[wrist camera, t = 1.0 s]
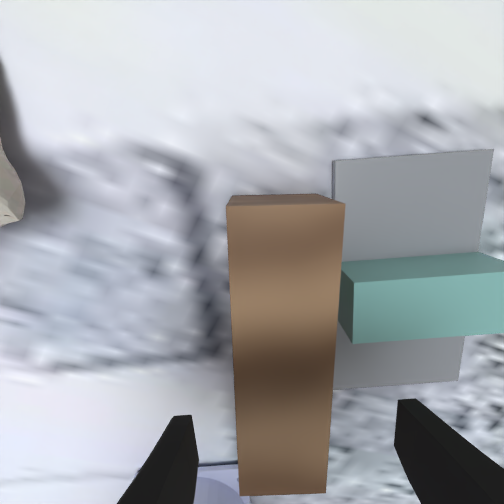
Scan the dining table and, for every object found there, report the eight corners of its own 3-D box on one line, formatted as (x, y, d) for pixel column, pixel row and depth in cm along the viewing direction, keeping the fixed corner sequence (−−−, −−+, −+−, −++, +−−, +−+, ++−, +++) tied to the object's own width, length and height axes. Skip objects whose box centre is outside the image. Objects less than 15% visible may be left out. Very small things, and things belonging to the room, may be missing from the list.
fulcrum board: (452, 375, 19) (498, 420, 15) (331, 384, 19) (349, 431, 15) (485, 149, 15) (556, 143, 11) (332, 161, 15) (358, 158, 11)
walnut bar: (306, 414, 20) (325, 493, 15) (241, 416, 20) (239, 496, 15) (314, 193, 16) (345, 203, 11) (232, 195, 15) (225, 206, 11)
